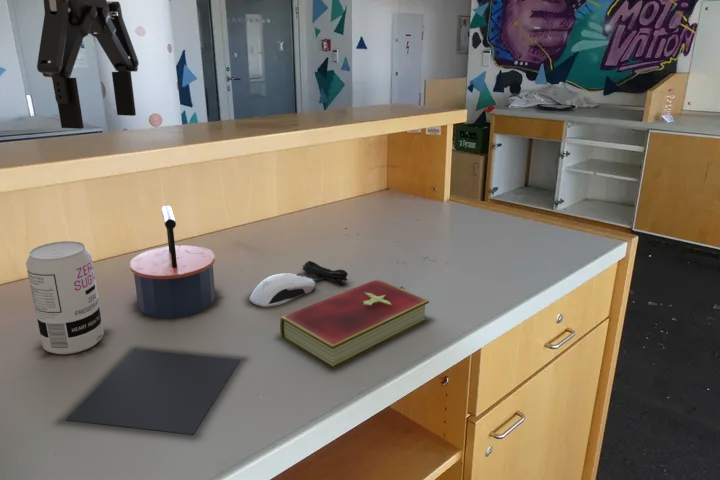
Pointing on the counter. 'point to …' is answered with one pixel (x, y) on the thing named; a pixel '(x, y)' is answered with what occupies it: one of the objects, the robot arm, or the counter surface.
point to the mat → (157, 392)
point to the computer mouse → (291, 285)
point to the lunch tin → (175, 295)
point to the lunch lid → (171, 257)
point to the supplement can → (65, 296)
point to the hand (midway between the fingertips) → (101, 121)
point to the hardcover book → (353, 322)
